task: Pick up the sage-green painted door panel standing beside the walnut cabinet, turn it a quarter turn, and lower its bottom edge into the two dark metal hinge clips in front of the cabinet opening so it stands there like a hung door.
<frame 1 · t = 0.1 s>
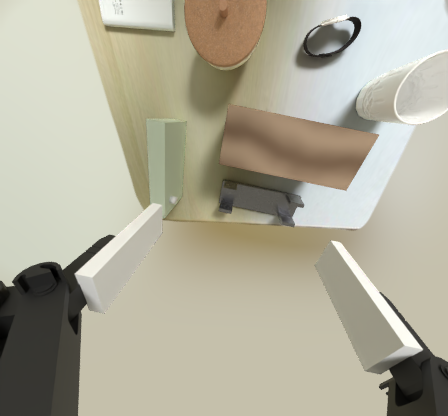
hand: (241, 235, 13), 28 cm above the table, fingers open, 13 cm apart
cabinet: (276, 140, 35), on the table
door panel: (178, 161, 40), on the table
clip rail: (258, 198, 42), on the table
white cup: (375, 98, 30), on the table
lidded jar: (229, 38, 28), on the table
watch: (326, 41, 27), on the table
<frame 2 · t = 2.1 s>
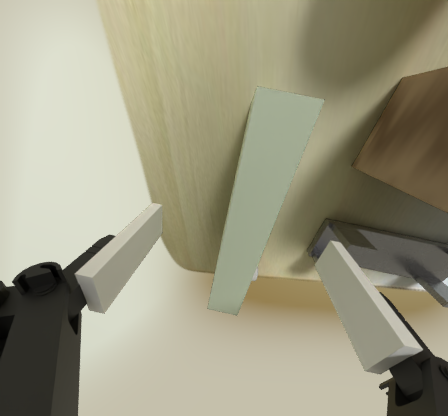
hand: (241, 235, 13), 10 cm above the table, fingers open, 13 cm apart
door panel: (244, 186, 21), on the table
clip rail: (382, 249, 23), on the table
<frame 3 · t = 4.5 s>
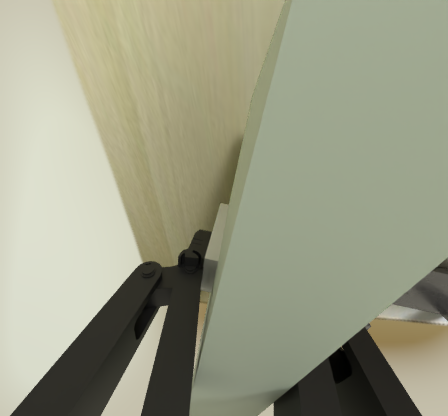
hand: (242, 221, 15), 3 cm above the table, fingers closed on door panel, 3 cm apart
door panel: (243, 215, 15), point 2 cm above the table, touching gripper
clip rail: (403, 281, 20), on the table
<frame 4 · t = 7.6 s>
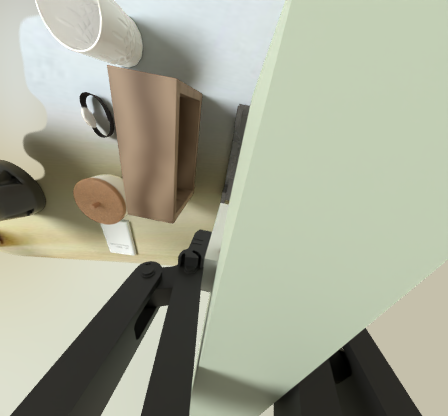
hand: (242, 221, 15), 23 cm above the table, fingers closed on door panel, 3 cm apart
external hard drive: (121, 234, 50), on the table
cabinet: (178, 146, 35), on the table
door panel: (242, 216, 15), point 22 cm above the table, touching gripper
clip rail: (244, 159, 34), on the table
white cup: (124, 42, 28), on the table
lidded jar: (122, 189, 41), on the table
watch: (104, 116, 34), on the table
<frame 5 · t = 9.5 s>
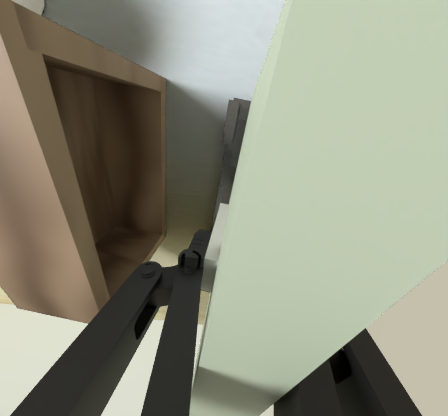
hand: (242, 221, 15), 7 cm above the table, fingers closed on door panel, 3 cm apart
cabinet: (135, 169, 21), on the table
door panel: (242, 216, 15), point 7 cm above the table, touching gripper
clip rail: (242, 191, 21), on the table
when the fingers open (2 cm above the table, at t = 10.8 s): door panel stays where it is, resting on clip rail.
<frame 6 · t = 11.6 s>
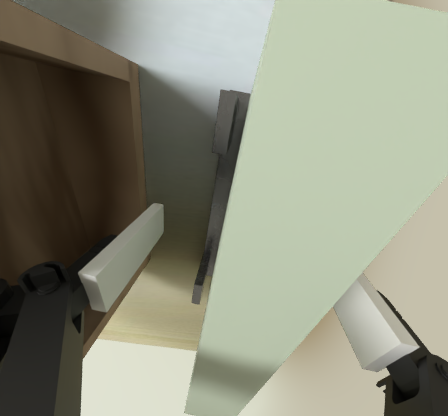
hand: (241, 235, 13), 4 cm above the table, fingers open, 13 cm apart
cabinet: (107, 182, 17), on the table
door panel: (241, 212, 16), point 1 cm above the table, touching clip rail
clip rail: (241, 210, 17), on the table
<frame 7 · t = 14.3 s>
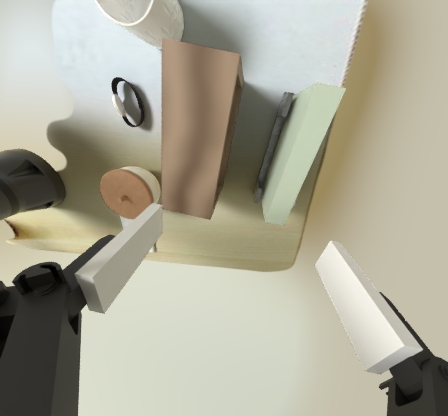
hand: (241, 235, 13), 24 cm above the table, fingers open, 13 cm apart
external hard drive: (140, 230, 48), on the table
cabinet: (211, 138, 33), on the table
door panel: (282, 153, 31), point 1 cm above the table, touching clip rail
clip rail: (281, 154, 32), on the table
white cup: (164, 23, 26), on the table
lidded jar: (147, 183, 39), on the table
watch: (133, 104, 32), on the table
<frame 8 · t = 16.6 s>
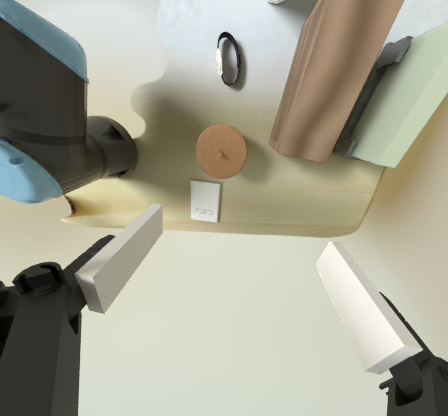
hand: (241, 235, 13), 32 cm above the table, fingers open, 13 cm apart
external hard drive: (205, 200, 49), on the table
cabinet: (302, 96, 34), on the table
door panel: (374, 107, 33), point 1 cm above the table, touching clip rail
clip rail: (370, 109, 34), on the table
lidded jar: (224, 147, 40), on the table
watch: (228, 63, 33), on the table
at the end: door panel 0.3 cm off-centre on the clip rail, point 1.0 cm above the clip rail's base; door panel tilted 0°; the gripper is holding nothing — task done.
